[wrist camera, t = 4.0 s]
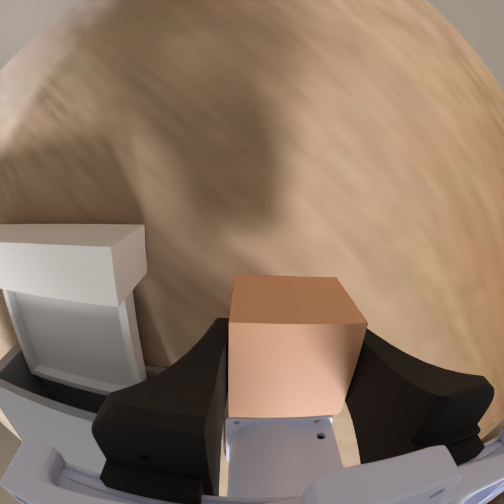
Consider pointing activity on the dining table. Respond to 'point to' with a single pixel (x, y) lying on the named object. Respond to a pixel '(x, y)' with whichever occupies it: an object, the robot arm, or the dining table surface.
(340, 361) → the block
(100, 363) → the tray
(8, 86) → the dining table surface
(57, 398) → the housing
